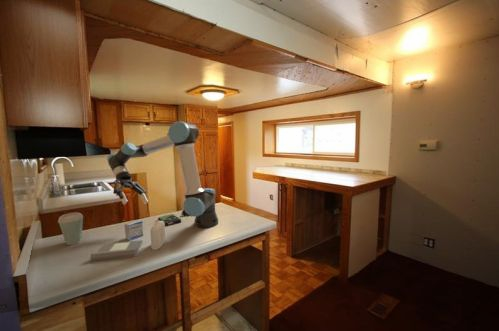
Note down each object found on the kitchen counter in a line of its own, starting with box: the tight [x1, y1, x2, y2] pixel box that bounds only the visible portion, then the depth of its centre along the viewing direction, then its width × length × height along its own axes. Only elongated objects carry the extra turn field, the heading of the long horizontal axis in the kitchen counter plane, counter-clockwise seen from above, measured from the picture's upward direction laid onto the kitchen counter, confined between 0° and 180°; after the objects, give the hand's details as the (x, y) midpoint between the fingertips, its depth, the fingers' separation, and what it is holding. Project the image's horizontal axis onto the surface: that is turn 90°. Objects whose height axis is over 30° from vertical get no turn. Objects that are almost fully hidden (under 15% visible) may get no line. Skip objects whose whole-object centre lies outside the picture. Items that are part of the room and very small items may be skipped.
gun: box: [180, 209, 189, 217], centre depth 167 cm, size 3×16×10 cm, turn 128°
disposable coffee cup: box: [57, 212, 84, 246], centre depth 120 cm, size 11×11×15 cm
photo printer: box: [150, 220, 166, 251], centre depth 116 cm, size 10×4×12 cm, turn 179°
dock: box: [90, 240, 143, 262], centre depth 111 cm, size 18×15×3 cm
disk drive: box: [157, 214, 182, 227], centre depth 152 cm, size 10×3×15 cm
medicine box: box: [124, 219, 144, 241], centre depth 126 cm, size 8×4×9 cm, turn 149°
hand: (136, 202), depth 128 cm, fingers open, 13 cm apart
